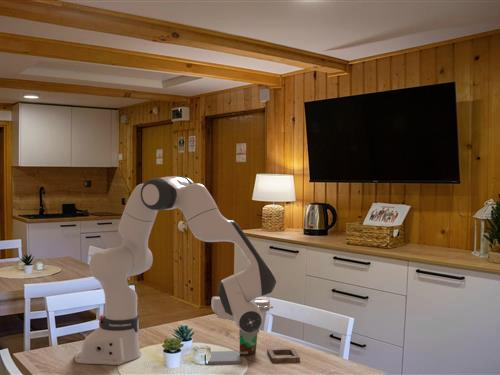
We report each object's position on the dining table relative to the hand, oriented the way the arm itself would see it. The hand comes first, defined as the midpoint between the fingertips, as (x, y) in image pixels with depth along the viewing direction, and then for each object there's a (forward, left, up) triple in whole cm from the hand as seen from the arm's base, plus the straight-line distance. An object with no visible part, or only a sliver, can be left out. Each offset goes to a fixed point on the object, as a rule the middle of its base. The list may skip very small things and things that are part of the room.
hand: (238, 298), depth 183 cm
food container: (+6, +5, -22) cm, 23 cm away
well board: (+17, -1, -21) cm, 27 cm away
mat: (-5, -1, -21) cm, 22 cm away
